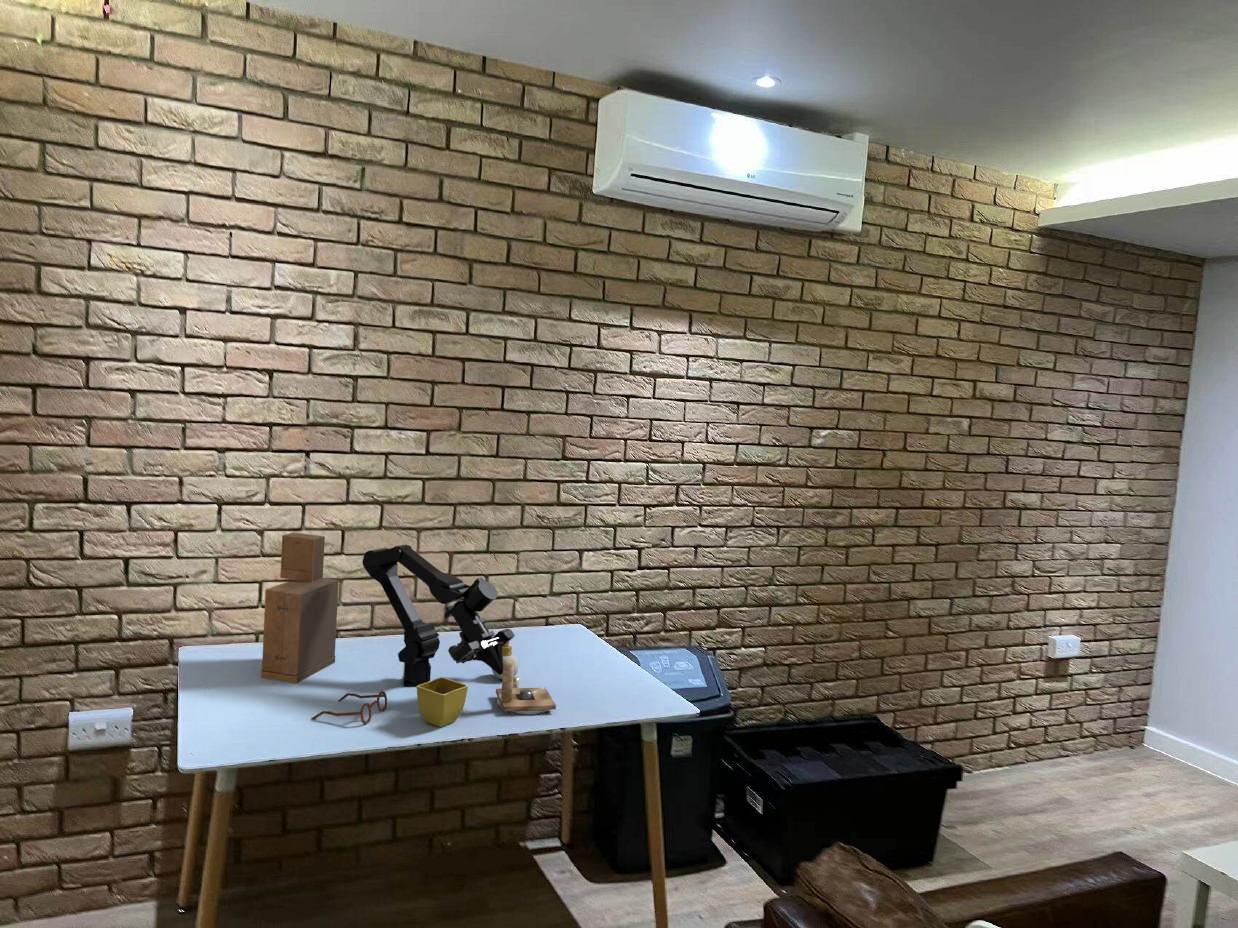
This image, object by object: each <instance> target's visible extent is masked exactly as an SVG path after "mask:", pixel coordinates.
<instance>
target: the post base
mask: <svg viewBox="0 0 1238 928" xmlns="http://www.w3.org/2000/svg"><path fill="white" fill-rule="evenodd" d="M519 685H520V677H519V676H514V677H513V686H512V688H519ZM531 696H532V691H530V690H521V691H520V697H519V698H518V700H533V698H532V697H531ZM496 700H497V703H496V705H498V706H497V707H499V708H501V709H502V710H501V709H500V710H501V711H503V708H502V706H501V703H500V701H499V699H498V698H497V699H496ZM499 708H498V709H499ZM507 712H508V714H511V713H513V714H512V715H516V714H517V715H516V716H537V715H538V716H539V715H543V714H546V713H549V712H550V711H549V710H518V711H506V712H505V713H507Z"/></svg>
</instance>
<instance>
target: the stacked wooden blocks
mask: <svg viewBox="0 0 1238 928" xmlns="http://www.w3.org/2000/svg"><path fill="white" fill-rule="evenodd" d="M325 538H326V535H325V536H324V535H317V534H309V533H308V534H307V533H299V532H290V533H287V534H282V535H281V552H280V553H281V555H280V557H281V558H280V559H281V560H280V576H279V577H280V578H281V579H286V580H287V579H288V580H289V581H286V582H283V583H280V584H277V585H275V586H271V587H268V588H265V591H264V593H265V595H264V596H265V598H264V615H263V616H264V617H263V640H262V641H263V642H262V657H261V658H262V659H261V671H260V679H265V680H266V679H267V680H272V681H278V682H285V683H291V684H299V683H300V682H302V681H304V680H306V679H308V678H310V677H311V676H314V675H315V674H316V673H318V672H320V671H322V670H323V669H326V668H328V667H329V666H331V665H333V664H335V663H336V638H337V620H338V617H337V616H338V605H339V604H338V601H339V600H338V599H339V585H340V584H339V583H340V582H339V579H334V578H327V577H324V563H325V544H326V543H325V541H326V540H325Z"/></svg>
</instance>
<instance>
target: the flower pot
mask: <svg viewBox="0 0 1238 928" xmlns="http://www.w3.org/2000/svg"><path fill="white" fill-rule="evenodd" d="M415 687H416V695H417V696H416V697H417V706H418V709H419V712H420V714H421V717H422V718H423V720H424V721H425V723H427V724H431V725H433V726H435V727H440V728H443V727H445V726H448V725H450V724H452V723H455V722H456V721H457V719H458V718H459V717H460V716H461V714H462V712H463V710H464V706H465V703H466V698H467V694H468V690H469V689H468V688H469V685H468V684H466V683H462V682H459V681H455V680H453V679H449V678H448V677H447V678H446V677H443V676H442V677H437V678H434V679H432V680H430V681H429V682H427V683H423V684H420V685H418V686H415Z"/></svg>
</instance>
